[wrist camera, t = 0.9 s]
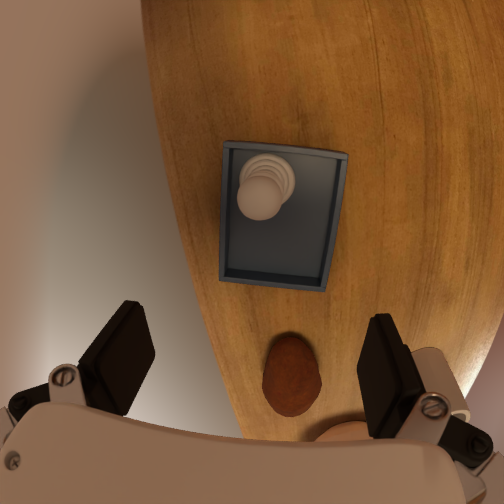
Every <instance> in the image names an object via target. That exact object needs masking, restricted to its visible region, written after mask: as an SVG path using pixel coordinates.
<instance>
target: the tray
mask: <svg viewBox="0 0 504 504" xmlns="http://www.w3.org/2000/svg"><path fill="white" fill-rule="evenodd" d="M262 153H271V154H276V155H278V156H280V157H282V158H284V159H285V160H286V161H287V162H288V163H289V164H290V165H291V167H292V169H293V171H294V174H295V188H294V191H293V193H292V195H291V196H290V197H289V199H288V200H287V201H285V202H284V203H283V204H281V207H280V209H279V211H278V212H277V214H276V215H274V216H273V217H271V218H269V219H266V220H253V219H250V218H248V217H246V216H245V215H244V214H243V213H242V212H241V210H240V208H239V206H238V202H237V194H238V190H239V187H240V184H239V176H240V172H241V169H242V167H243V165H244V164H245V163H246V162H247V161H248V160H249V159H250V158H252V157H253V156H255V155H258V154H262ZM347 160H348V154H347V153H344V152H341V151H334V150H327V149H320V148H312V147H304V146H295V145H286V144H276V143H264V142H251V141H234V140H228V141H224V142H223V159H222V181H221V207H220V241H219V281H225V282H233V283H242V284H250V285H259V286H268V287H278V288H287V289H297V290H307V291H318V292H325V289H326V285H327V280H328V275H329V271H330V266H331V261H332V256H333V251H334V245H335V240H336V234H337V229H338V223H339V217H340V211H341V205H342V198H343V192H344V185H345V178H346V171H347V163H348V161H347Z"/></svg>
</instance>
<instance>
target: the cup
mask: <svg viewBox="0 0 504 504" xmlns="http://www.w3.org/2000/svg"><path fill="white" fill-rule="evenodd" d="M411 354H412V356H413V359H414V361H415V364H416V366H417V369H418V371H419V374H420V376H421V379H422V381H423V384H424V387H425V389H426V392H437V393H440V394H442V395H444V396H445V397H446V398H447V399H448V400H449V402H450V404H451V407H452V411H451V414H453V416H455V417H457V418H459V419H461V420H463V421H465V422H468V421H469V419H470V416H471V414H470V411H469V408H468V406H467V404H466V402H465V399H464V397H463V395H462V392H461V390H460V388H459V386H458V384H457V381H456V379H455V377H454V375H453V373H452V371H451V369H450V367H449V365H448V363H447V361H446V359H445V357H444V355H443V353H442V352H441V351H440V350H439V349H437V348H422V349H419V350H416V351H414V352H412V353H411Z"/></svg>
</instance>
